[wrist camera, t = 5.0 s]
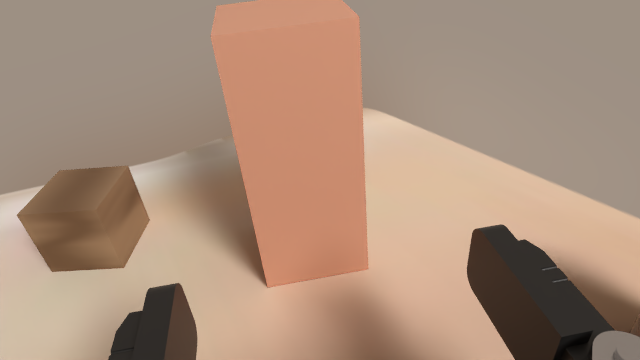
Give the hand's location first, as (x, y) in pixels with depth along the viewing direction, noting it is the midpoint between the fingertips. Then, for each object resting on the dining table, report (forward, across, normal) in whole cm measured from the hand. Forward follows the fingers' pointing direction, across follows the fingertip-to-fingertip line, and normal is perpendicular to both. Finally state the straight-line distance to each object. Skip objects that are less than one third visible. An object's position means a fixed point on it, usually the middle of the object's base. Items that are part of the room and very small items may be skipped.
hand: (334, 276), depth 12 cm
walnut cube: (+12, -12, -7) cm, 18 cm away
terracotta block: (+9, 0, -7) cm, 11 cm away
